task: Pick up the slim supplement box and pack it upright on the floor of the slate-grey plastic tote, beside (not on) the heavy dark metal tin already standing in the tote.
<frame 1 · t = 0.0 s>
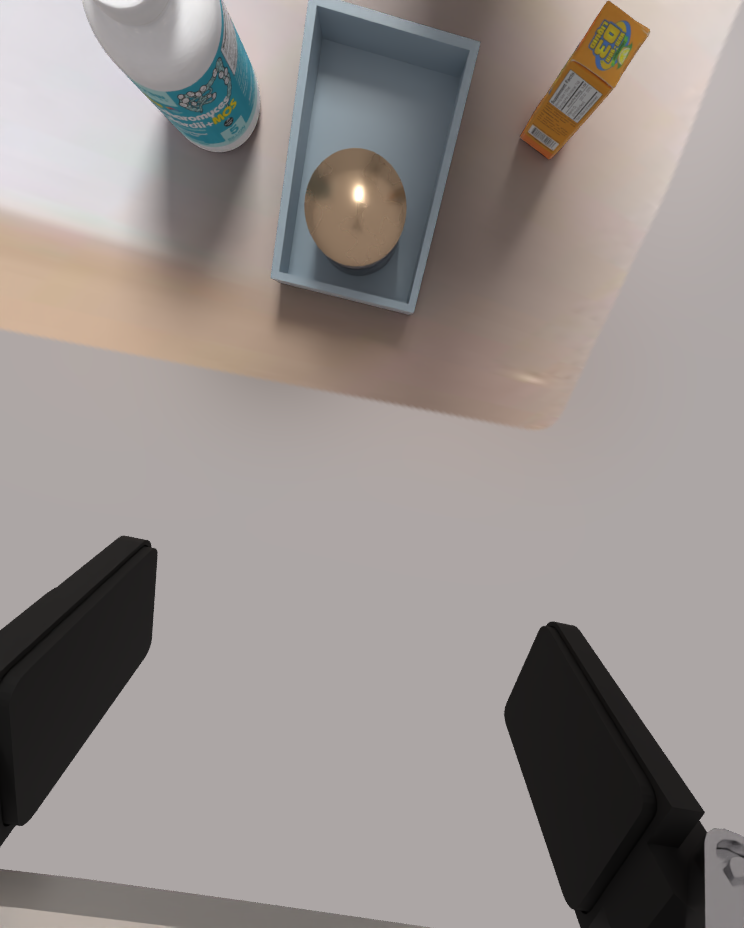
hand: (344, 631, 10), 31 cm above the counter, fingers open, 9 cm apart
supplement box: (543, 130, 32), on the counter
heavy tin: (358, 231, 34), resting on tote
tote: (368, 186, 33), on the counter
pill bottle: (218, 102, 32), on the counter
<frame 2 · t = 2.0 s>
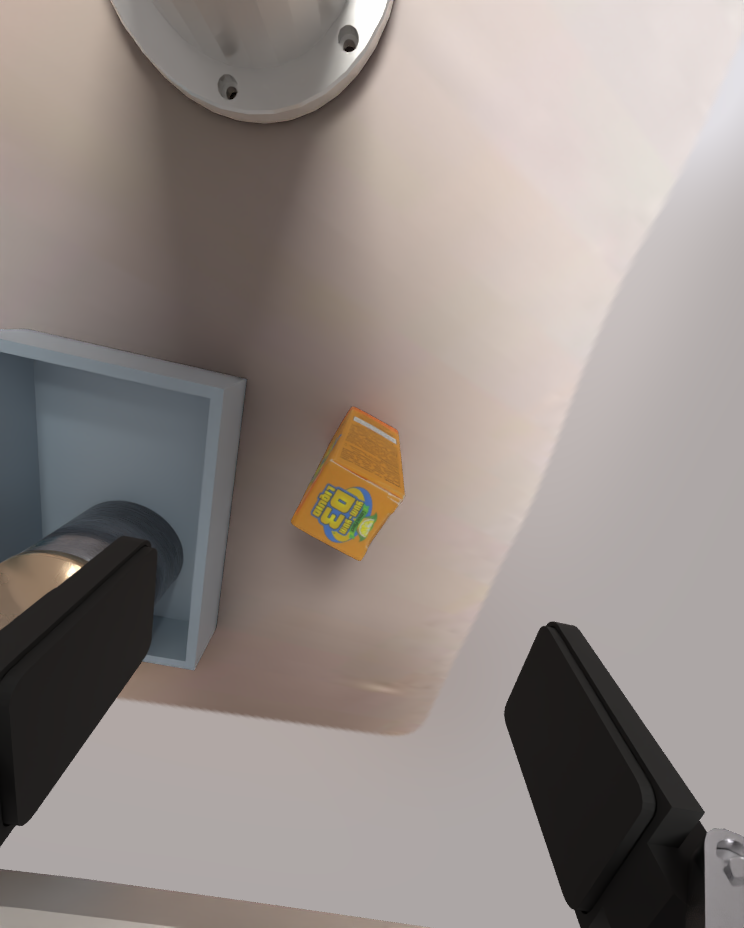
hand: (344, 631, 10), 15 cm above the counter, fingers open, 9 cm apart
supplement box: (360, 437, 24), on the counter
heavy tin: (128, 549, 26), resting on tote
tote: (134, 498, 25), on the counter
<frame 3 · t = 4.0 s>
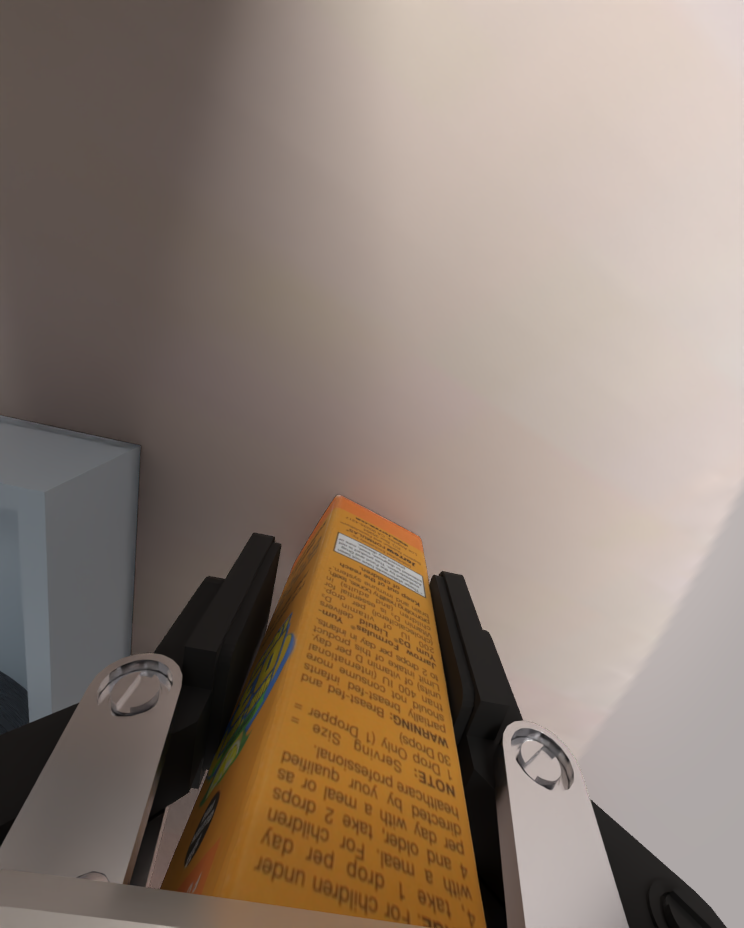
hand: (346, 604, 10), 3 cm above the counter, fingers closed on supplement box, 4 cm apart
supplement box: (352, 545, 13), on the counter, touching gripper
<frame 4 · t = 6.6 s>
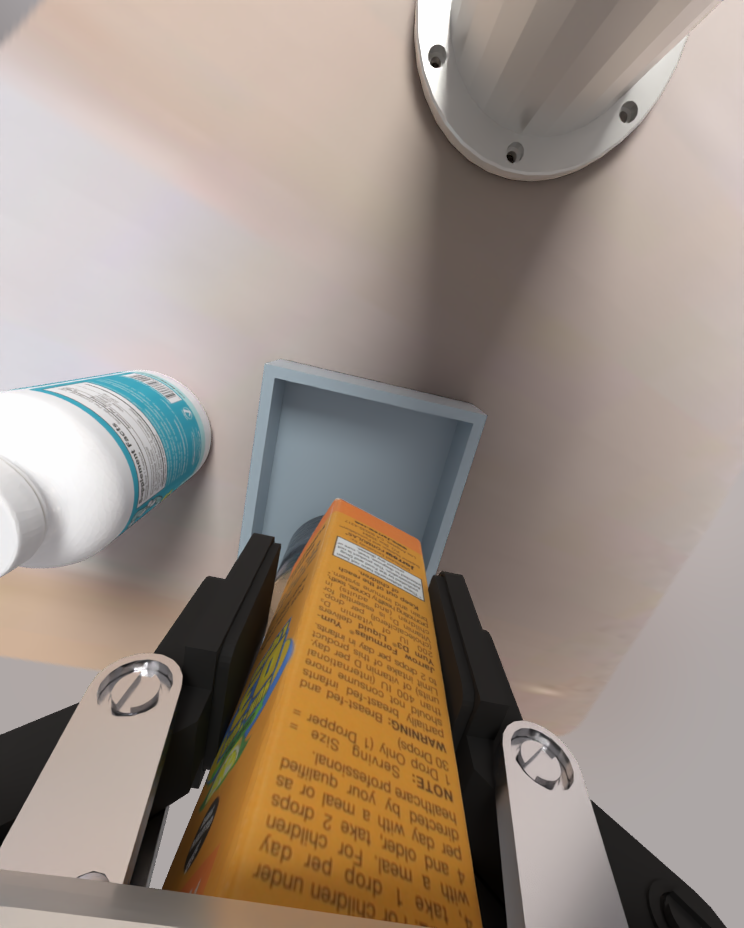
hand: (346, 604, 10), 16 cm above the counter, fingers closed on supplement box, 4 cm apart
supplement box: (351, 548, 13), point 13 cm above the counter, touching gripper
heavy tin: (336, 559, 28), resting on tote
tote: (347, 511, 27), on the counter
pill bottle: (159, 427, 26), on the counter
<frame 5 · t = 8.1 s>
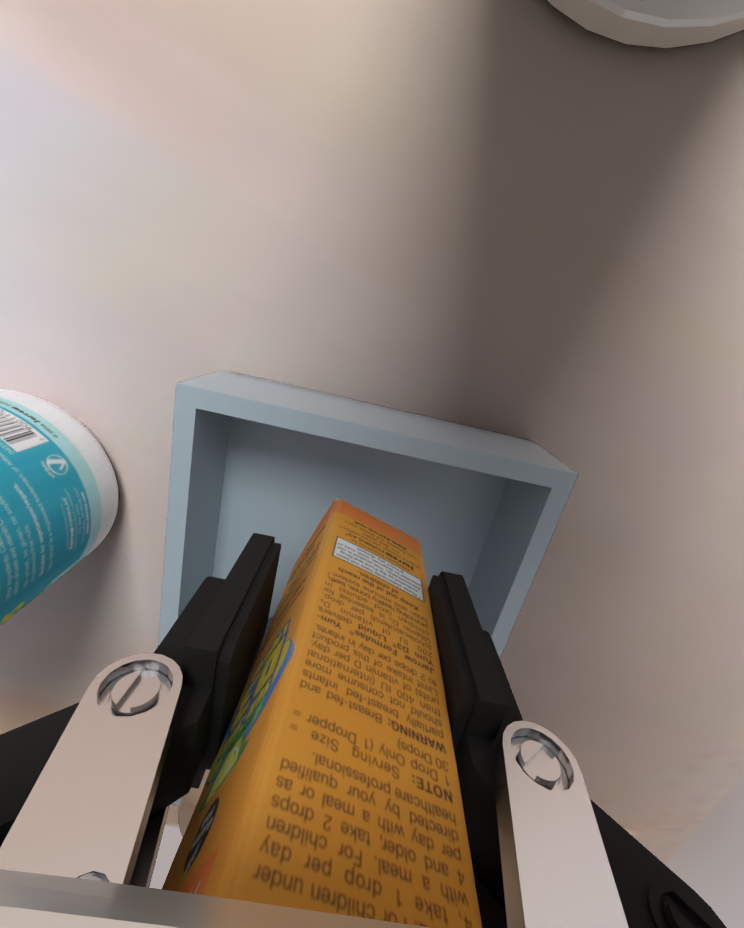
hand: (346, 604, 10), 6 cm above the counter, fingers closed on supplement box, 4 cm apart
supplement box: (351, 548, 13), point 3 cm above the counter, touching gripper
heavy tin: (320, 667, 19), resting on tote
tote: (335, 599, 18), on the counter
pill bottle: (40, 475, 16), on the counter
when the fingers open (5 cm above the counter, at t = 9.2 s): supplement box drops 1 cm, resting on tote.
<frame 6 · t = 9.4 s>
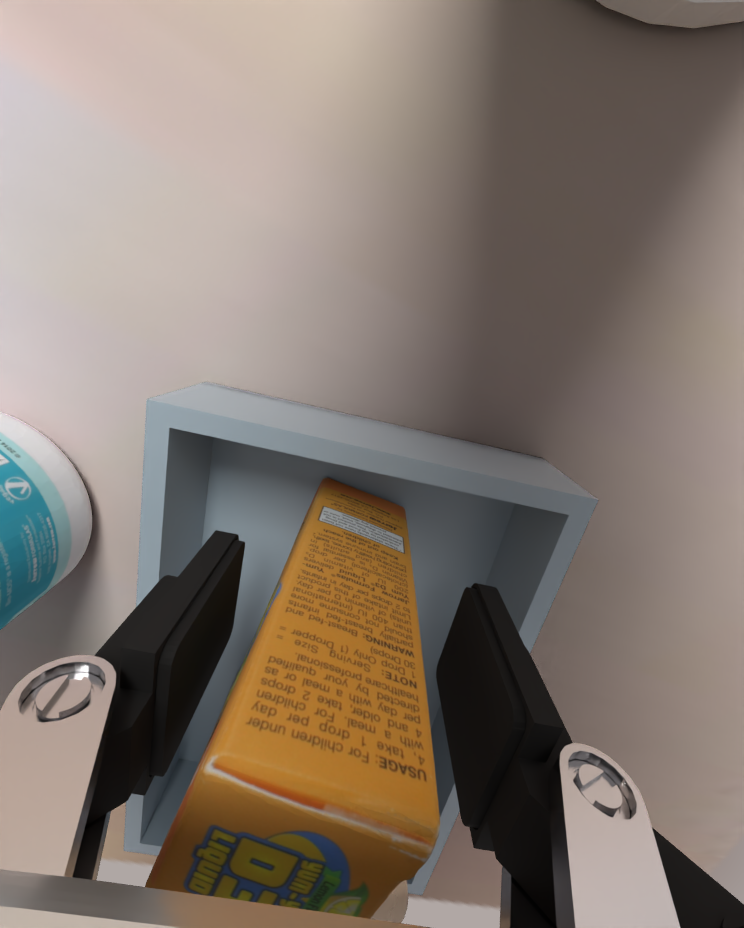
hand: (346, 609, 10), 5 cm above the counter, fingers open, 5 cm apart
supplement box: (344, 522, 15), resting on tote
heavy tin: (313, 700, 17), resting on tote
tote: (329, 627, 17), on the counter
pill bottle: (8, 495, 15), on the counter
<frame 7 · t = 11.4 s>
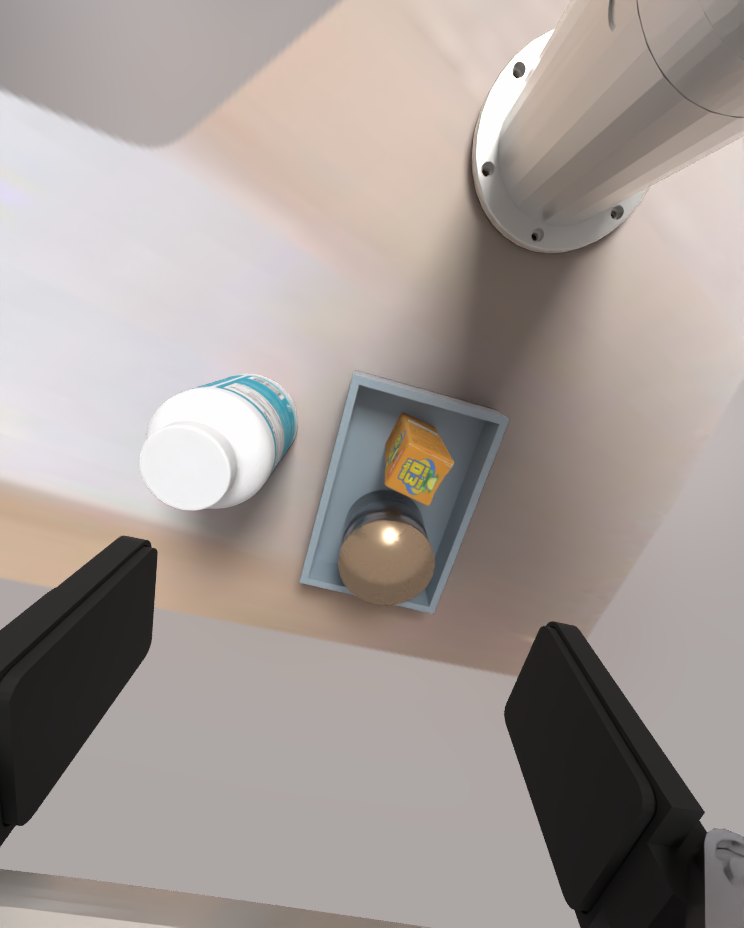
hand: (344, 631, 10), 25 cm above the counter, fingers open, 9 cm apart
supplement box: (407, 435, 33), resting on tote
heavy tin: (384, 526, 36), resting on tote
tote: (394, 489, 35), on the counter
pill bottle: (256, 417, 33), on the counter
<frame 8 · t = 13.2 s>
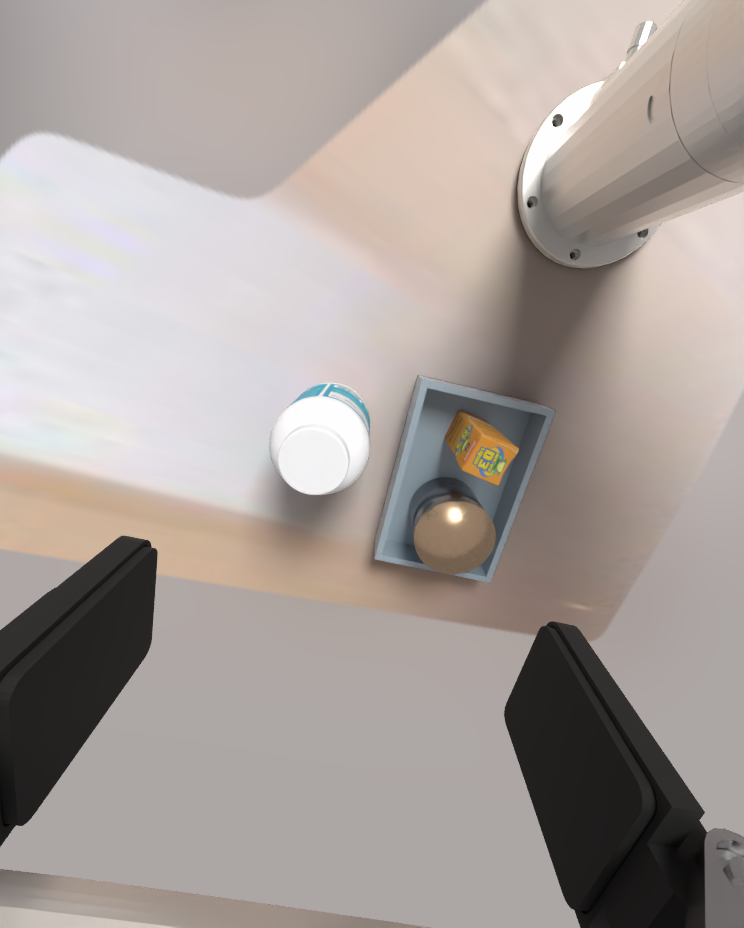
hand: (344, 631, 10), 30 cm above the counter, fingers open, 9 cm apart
supplement box: (463, 428, 39), resting on tote
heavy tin: (443, 508, 41), resting on tote
tote: (451, 476, 40), on the counter
pill bottle: (332, 419, 39), on the counter
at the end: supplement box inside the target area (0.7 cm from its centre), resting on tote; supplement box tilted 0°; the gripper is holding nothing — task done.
